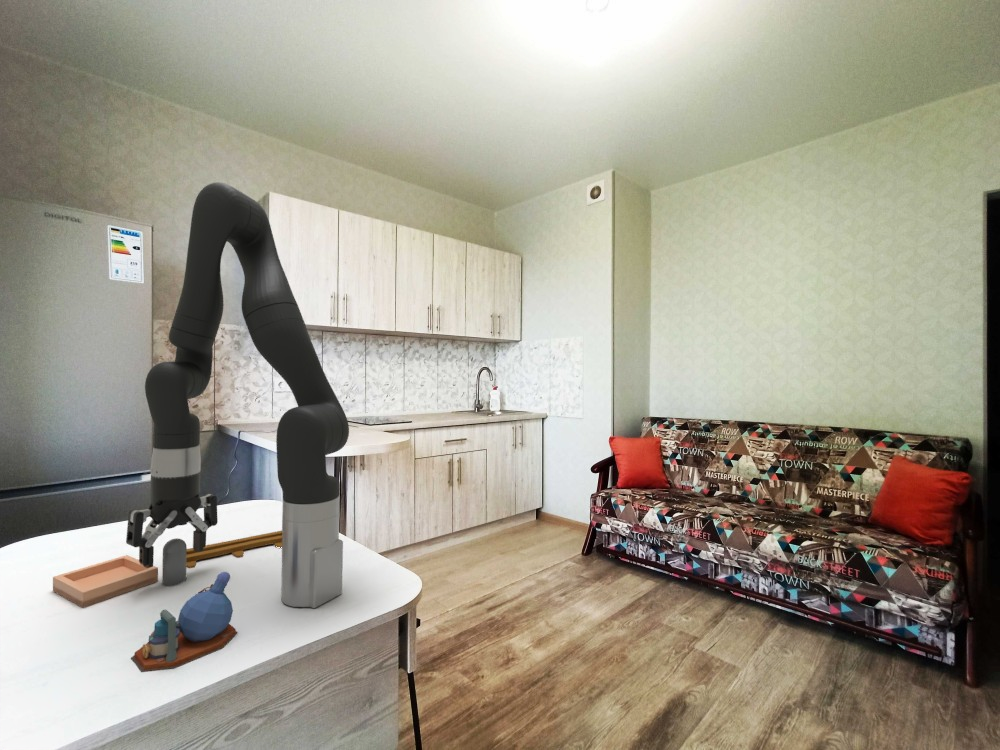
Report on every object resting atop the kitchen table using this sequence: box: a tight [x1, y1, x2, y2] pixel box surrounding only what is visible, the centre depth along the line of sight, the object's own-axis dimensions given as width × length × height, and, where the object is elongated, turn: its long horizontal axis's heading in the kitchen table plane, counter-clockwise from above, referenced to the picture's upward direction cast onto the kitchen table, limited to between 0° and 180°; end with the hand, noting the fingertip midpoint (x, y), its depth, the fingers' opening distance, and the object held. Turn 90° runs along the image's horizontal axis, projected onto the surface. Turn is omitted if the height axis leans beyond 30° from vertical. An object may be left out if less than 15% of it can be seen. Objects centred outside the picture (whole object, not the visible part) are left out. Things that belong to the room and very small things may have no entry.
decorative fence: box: [186, 530, 282, 569], centre depth 103 cm, size 25×2×10 cm
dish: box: [52, 554, 159, 608], centre depth 84 cm, size 11×11×2 cm
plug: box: [161, 537, 188, 587], centre depth 87 cm, size 4×4×8 cm
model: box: [130, 571, 238, 673], centre depth 68 cm, size 12×9×9 cm
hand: (174, 558), depth 87 cm, fingers open, 8 cm apart
